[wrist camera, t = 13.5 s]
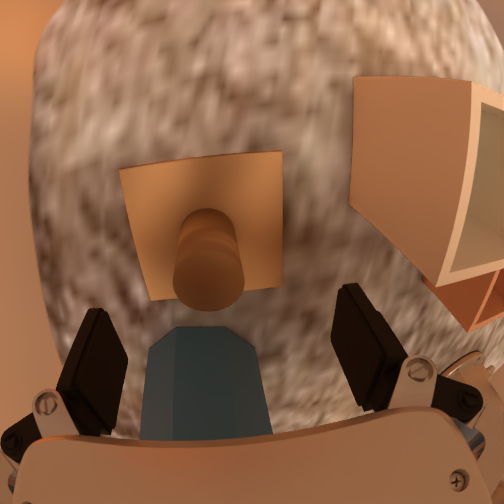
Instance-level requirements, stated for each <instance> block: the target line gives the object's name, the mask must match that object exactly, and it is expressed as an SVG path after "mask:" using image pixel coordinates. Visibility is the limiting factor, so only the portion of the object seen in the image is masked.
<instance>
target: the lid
mask: <svg viewBox="0 0 504 504" xmlns="http://www.w3.org/2000/svg"><path fill="white" fill-rule="evenodd" d="M119 175H120V180H121V185H122V190H123V195H124V200H125V205H126V209H127V214H128V218H129V223H130V227H131V231H132V235H133V239H134V243H135V247H136V251H137V255H138V258H139V262H140V266H141V269H142V273H143V276H144V280H145V283H146V286H147V290H148V293H149V296H150V299H151V301H154V300H164V299H175V298H179V300H180V301H181V302H183V303H184V304H185V305H187V306H188V307H190V308H193V309H195V310H199V311H208V312H209V311H218V310H222V309H224V308H227V307H229V306H230V305H232V304H233V303H234V302H236V301H237V300H238V298H239V297H240V296H241V294H242V292H243V291H248V290H256V289H264V288H272V287H279V286H282V266H283V172H282V151H281V150H280V151H261V152H246V153H234V154H223V155H213V156H203V157H195V158H186V159H179V160H171V161H164V162H158V163H151V164H145V165H139V166H133V167H128V168H122V169H120V170H119Z"/></svg>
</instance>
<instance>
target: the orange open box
mask: <svg viewBox="0 0 504 504" xmlns="http://www.w3.org/2000/svg"><path fill="white" fill-rule="evenodd" d="M422 281H423V282H424V283H425V284H426V285H427V286H428V287H429V288H430V290H431V291H432V292H433V293H434V294H435V295H436V296H437V297H438V298H439V300H440V301H441V302H442V303H443V304H444V305H445V307H446V308H447V309H448V310H449V311H450V312H451V314H452V315H453V316H454V317H455V318H456V319H457V321H458V322H459V323H460V324H461V326H462V327H463V328H464V329H465V330H466V332H467V333H468V332H470V331H473V330H475V329H477V328H479V327H481V326H483V325H486V324H488V323H490V322H492V321H494V320H496V319H498V318H500V317H502V316H504V268H502V269H499V270H496V271H492V272H489V273H486V274H482V275H479V276H476V277H472V278H469V279H465V280H461V281H458V282H454V283H450V284H447V285H443V286H439V287H435V286H434V285H433V284H432V283H431V282H430V281H429V280H428V279H427V278H426V277H425V276H424V275H423V278H422Z"/></svg>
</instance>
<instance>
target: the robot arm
mask: <svg viewBox="0 0 504 504" xmlns="http://www.w3.org/2000/svg"><path fill="white" fill-rule="evenodd" d="M331 343H332V345H333V348H334V350H335V352H336V355H337V357H338V359H339V362H340V364H341V367H342V369H343V371H344V374H345V376H346V378H347V381H348V383H349V386H350V388H351V391H352V393H353V395H354V398H355V400H356V403H357V405H358V406H361V405H362V408H363V410H364V412H365V411H369V410H372V409H373V410H374V413H370V414H366V415H363V416H359V417H355V418H351V419H347V420H343V421H338V422H334V423H329V424H325V425H321V426H316V427H311V428H306V429H300V430H295V431H289V432H283V433H276V434H269V435H262V436H253V437H244V438H233V439H220V440H201V441H150V440H131V439H117V438H106V437H100V434H104V435H111V432H112V429H114V428H115V426H116V421H117V415H118V409H119V404H120V399H121V393H122V388H123V384H124V379H125V374H126V370H127V365H128V357H127V354H126V352H125V350H124V348H123V346H122V344H121V341H120V339H119V337H118V335H117V333H116V331H115V328H114V326H113V324H112V322H111V319H110V317H109V315H108V313H107V312H106V311H104V310H103V309H102V308H90V309H88V311H87V313H86V315H85V317H84V319H83V322H82V324H81V326H80V328H79V331H78V333H77V335H76V338H75V340H74V342H73V345H72V347H71V350H70V352H69V354H68V357H67V359H66V362H65V365H64V367H63V370H62V373H61V375H60V378H59V381H58V383H57V387H56V390H53V389H45V390H43V391H41V392H39V393H38V394H37V395H36V396H35V398H34V400H33V402H32V411H33V412H32V413H31V414H29V415H28V416H26V417H25V418H23V419H22V420H20V421H19V422H17V423H15V424H14V425H12V426H11V427H9V428H8V429H7V430H6V431H5V432H4V433H3V435H2V437H1V443H0V445H1V449H0V504H504V403H503V401H502V399H501V398H500V396H499V395H498V393H497V392H496V390H495V389H494V387H493V386H492V384H491V383H490V381H489V380H491V379H492V377H493V374H492V372H494V366H493V365H491V366H489V367H488V368H486V369H485V367H484V366H483V365H482V363H483V360H484V356H483V355H482V354H481V352H473V353H471V354H469V355H467V356H465V357H463V358H462V359H460V360H459V361H457V362H456V363H455V364H453V365H452V366H451V367H450V368H448V369H447V370H446V371H445V372H444V373H443V374H442V375H439V374H437V368H436V365H435V364H434V363H433V361H432V360H430V359H429V358H427V357H425V356H422V355H412V356H410V357H408V355H407V353H406V352H405V350H404V348H403V347H402V345H401V344H400V342H399V340H398V339H397V337H396V336H395V334H394V333H393V331H392V330H391V328H390V326H389V325H388V323H387V322H386V320H385V319H384V317H383V316H382V314H381V313H380V312H379V311H376V310H375V308H374V306H373V305H372V303H371V302H370V300H369V299H368V298H367V296H366V295H365V293H364V292H363V290H362V289H361V287H360V286H359V284H358V283H350V284H344V285H343V286H342V288H340V289H339V290H338V295H337V301H336V308H335V314H334V320H333V325H332V331H331Z"/></svg>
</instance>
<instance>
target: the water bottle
mask: <svg viewBox="0 0 504 504" xmlns="http://www.w3.org/2000/svg"><path fill="white" fill-rule="evenodd" d="M269 434H273V432H272V427H271V423H270V418H269V413H268V409H267V404H266V399H265V394H264V390H263V385H262V380H261V375H260V371H259V366H258V361H257V356H256V351H255V347H254V346H252V345H251V344H249V343H248V342H246V341H245V340H243V339H242V338H240V337H239V336H237V335H236V334H234V333H233V332H231V331H230V330H228V329H227V328H226V327H176V328H175V329H174V330H172V331H171V332H170V333H168V334H167V335H166V336H165V337H163V338H162V339H161V340H159V341H158V342H157V343H156V344H154V345H153V346H152V347H150V348H149V353H148V360H147V368H146V376H145V385H144V394H143V404H142V415H141V427H140V440H150V441H201V440H220V439H233V438H244V437H253V436H262V435H269Z"/></svg>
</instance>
